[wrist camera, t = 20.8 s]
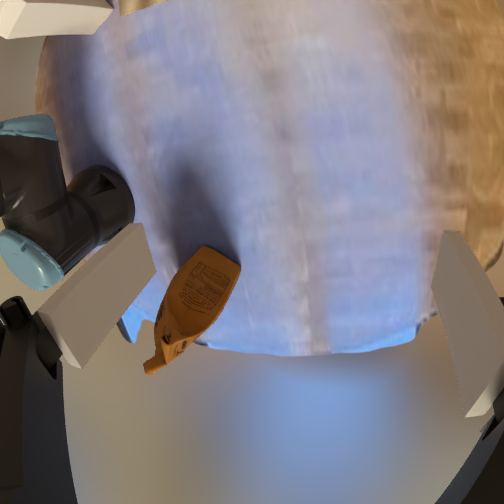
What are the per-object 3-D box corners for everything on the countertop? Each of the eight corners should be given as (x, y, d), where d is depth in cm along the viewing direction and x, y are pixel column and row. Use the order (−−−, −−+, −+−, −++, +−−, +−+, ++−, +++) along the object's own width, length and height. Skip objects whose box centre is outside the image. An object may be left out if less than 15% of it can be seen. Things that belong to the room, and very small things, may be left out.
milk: (79, 17, 36) (-23, 22, 18) (99, -8, 33) (-5, -16, 15) (94, 35, 38) (-13, 42, 19) (115, 9, 35) (7, 2, 16)
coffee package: (174, 277, 60) (116, 359, 42) (203, 235, 53) (138, 322, 35) (216, 306, 61) (171, 395, 43) (250, 269, 55) (206, 368, 36)
